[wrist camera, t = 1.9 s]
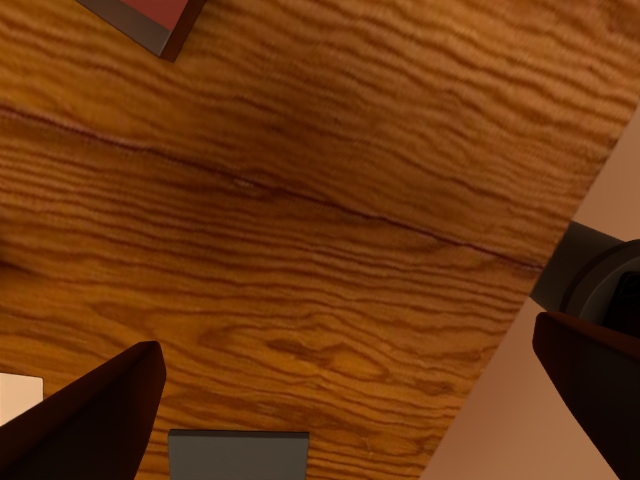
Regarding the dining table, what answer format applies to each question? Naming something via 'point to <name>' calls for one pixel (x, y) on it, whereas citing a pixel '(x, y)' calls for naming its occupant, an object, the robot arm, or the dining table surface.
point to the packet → (160, 10)
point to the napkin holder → (18, 395)
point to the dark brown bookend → (146, 25)
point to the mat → (237, 455)
